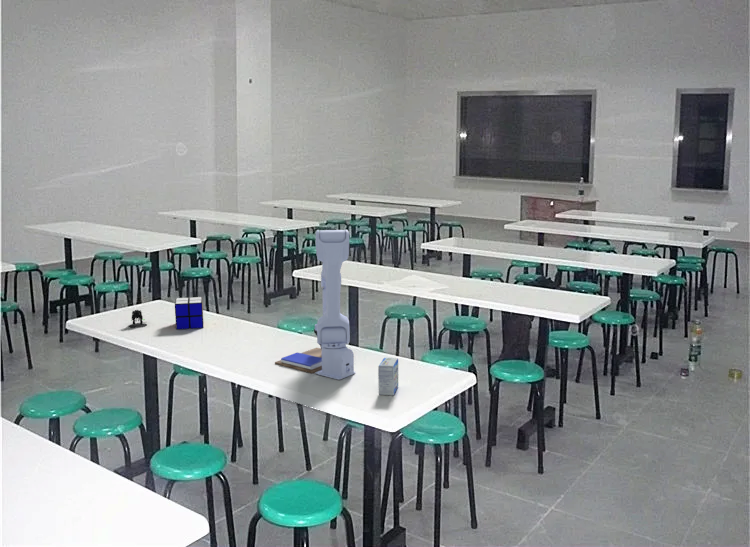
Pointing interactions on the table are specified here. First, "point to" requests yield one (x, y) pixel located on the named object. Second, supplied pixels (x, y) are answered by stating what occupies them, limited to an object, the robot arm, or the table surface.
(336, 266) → the robot arm
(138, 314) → the toy robot
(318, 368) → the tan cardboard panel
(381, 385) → the medicine box
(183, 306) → the puzzle cube
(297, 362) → the hard drive
